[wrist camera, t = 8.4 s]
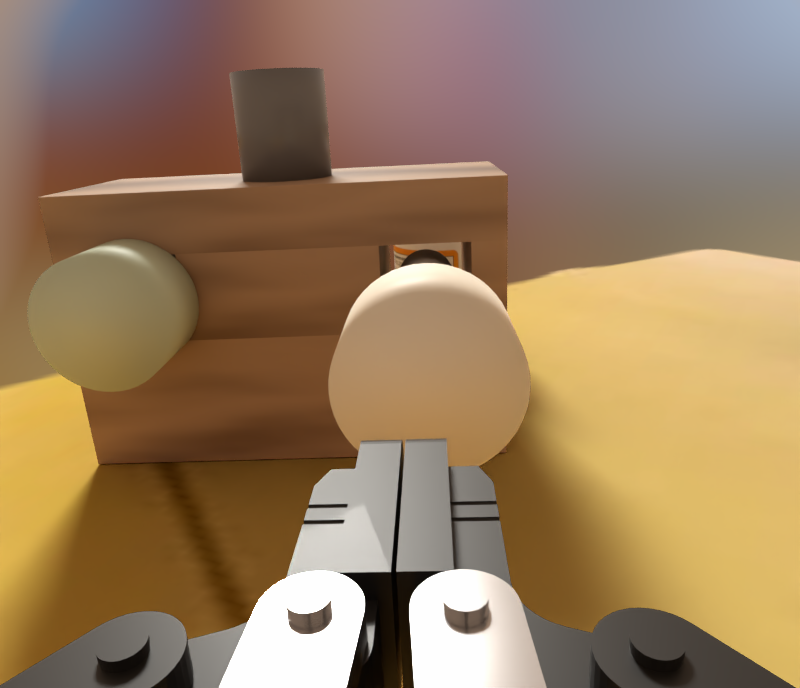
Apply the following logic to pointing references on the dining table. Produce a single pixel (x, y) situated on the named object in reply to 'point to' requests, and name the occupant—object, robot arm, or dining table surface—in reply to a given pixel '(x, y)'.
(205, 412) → the brown wooden block
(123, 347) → the knob sage
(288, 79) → the dark grey cylinder
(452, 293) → the knob cream
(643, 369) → the dining table surface
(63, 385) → the dining table surface
